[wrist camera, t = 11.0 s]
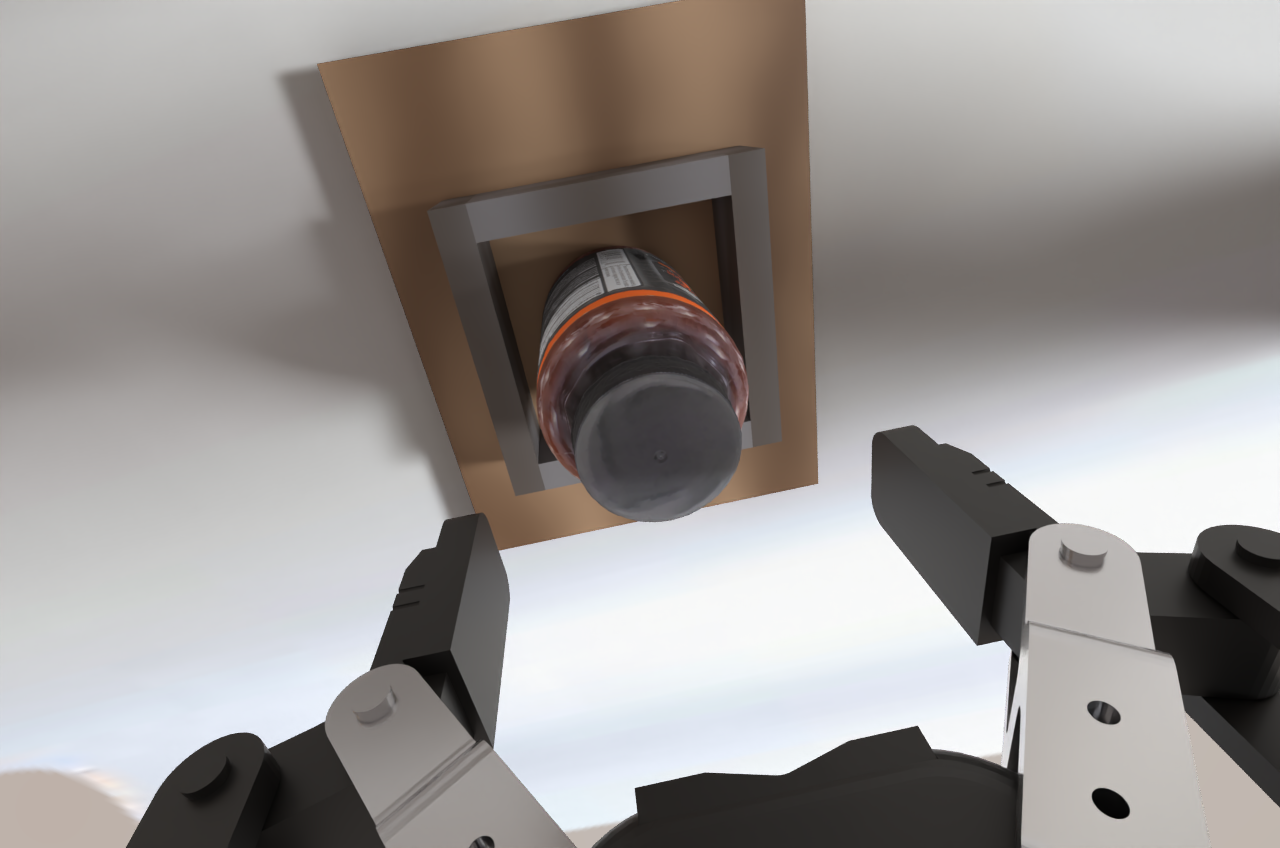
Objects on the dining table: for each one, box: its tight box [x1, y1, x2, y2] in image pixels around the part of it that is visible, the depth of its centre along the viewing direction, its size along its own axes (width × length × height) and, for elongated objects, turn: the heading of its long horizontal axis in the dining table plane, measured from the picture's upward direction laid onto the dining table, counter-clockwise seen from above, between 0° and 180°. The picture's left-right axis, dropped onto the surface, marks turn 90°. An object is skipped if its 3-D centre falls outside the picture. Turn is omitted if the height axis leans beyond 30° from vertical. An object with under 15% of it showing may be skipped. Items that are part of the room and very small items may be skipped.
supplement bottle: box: [536, 246, 749, 522], centre depth 19 cm, size 6×6×11 cm
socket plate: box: [317, 0, 818, 550], centre depth 23 cm, size 16×20×4 cm
